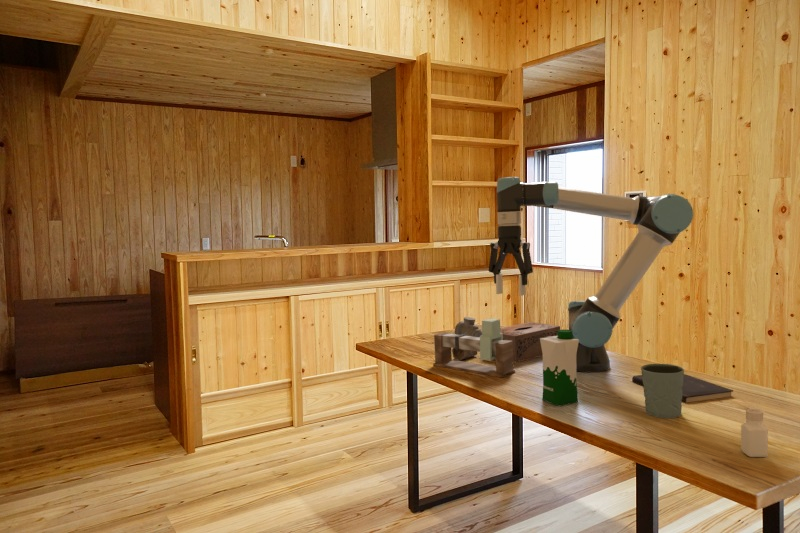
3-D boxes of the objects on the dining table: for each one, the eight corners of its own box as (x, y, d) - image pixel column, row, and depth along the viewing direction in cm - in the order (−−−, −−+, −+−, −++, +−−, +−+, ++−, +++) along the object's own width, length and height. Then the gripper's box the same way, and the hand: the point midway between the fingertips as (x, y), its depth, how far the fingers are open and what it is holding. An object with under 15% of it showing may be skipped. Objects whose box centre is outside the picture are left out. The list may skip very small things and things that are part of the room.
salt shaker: (739, 450, 128) (740, 408, 127) (759, 450, 127) (759, 408, 127) (748, 458, 124) (749, 414, 123) (768, 458, 123) (769, 414, 123)
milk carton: (583, 402, 164) (582, 332, 163) (556, 407, 161) (555, 335, 159) (562, 394, 172) (561, 327, 171) (537, 399, 169) (535, 330, 167)
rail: (514, 372, 199) (514, 339, 198) (502, 377, 193) (501, 343, 192) (446, 361, 218) (445, 331, 217) (433, 365, 212) (432, 334, 211)
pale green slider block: (503, 356, 201) (502, 318, 200) (490, 360, 196) (489, 322, 195) (493, 354, 204) (492, 317, 203) (480, 359, 198) (479, 321, 197)
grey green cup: (692, 416, 150) (692, 370, 149) (660, 421, 147) (659, 374, 146) (664, 405, 160) (664, 361, 159) (633, 409, 157) (632, 365, 156)
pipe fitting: (452, 338, 256) (455, 316, 254) (467, 338, 260) (469, 315, 258) (469, 346, 246) (472, 322, 244) (484, 345, 250) (487, 322, 248)
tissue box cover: (515, 363, 212) (514, 336, 212) (486, 356, 224) (486, 330, 223) (560, 351, 228) (560, 326, 227) (531, 346, 239) (531, 321, 238)
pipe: (464, 338, 235) (441, 336, 232) (483, 346, 220) (458, 344, 216) (462, 354, 235) (439, 353, 232) (481, 363, 220) (456, 361, 217)
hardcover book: (675, 377, 187) (675, 370, 187) (733, 398, 165) (733, 390, 165) (632, 383, 183) (632, 375, 183) (685, 404, 161) (685, 396, 161)
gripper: (476, 226, 195) (478, 293, 197) (532, 224, 181) (533, 297, 183) (488, 225, 201) (490, 291, 203) (543, 224, 187) (544, 294, 189)
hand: (510, 294), depth 193 cm, fingers open, 8 cm apart
